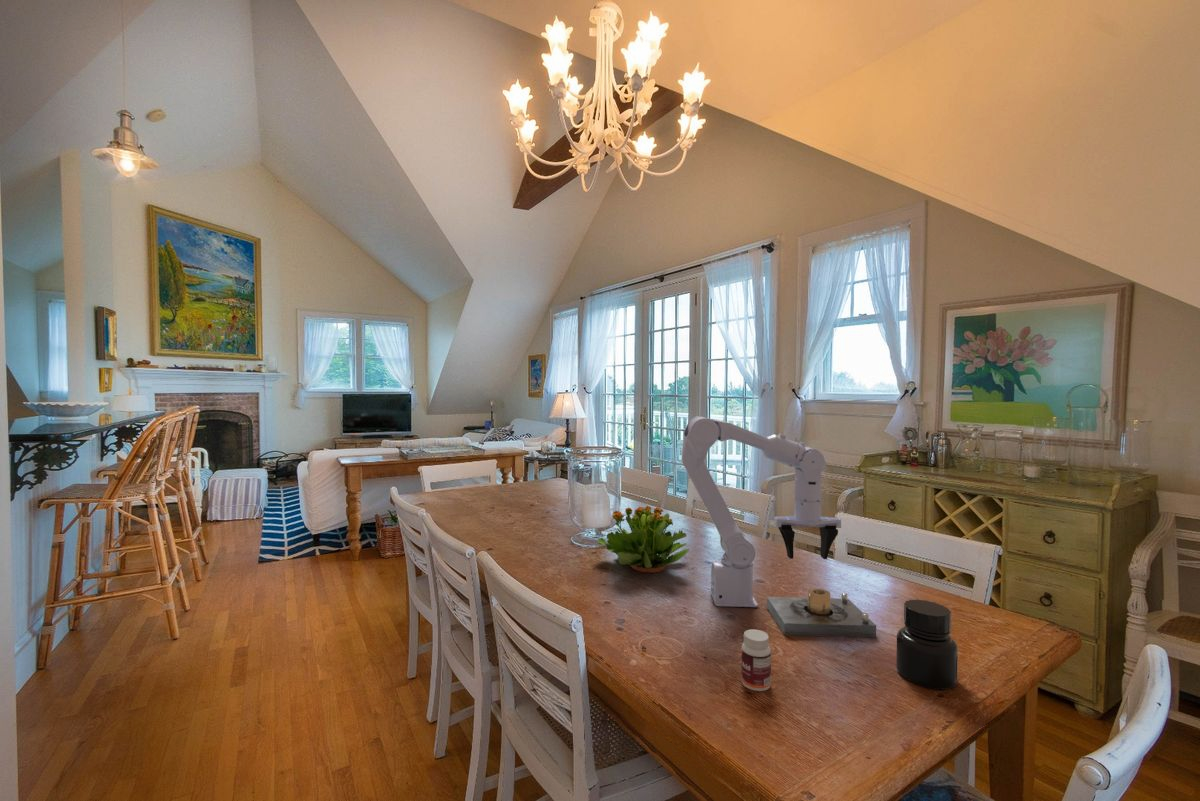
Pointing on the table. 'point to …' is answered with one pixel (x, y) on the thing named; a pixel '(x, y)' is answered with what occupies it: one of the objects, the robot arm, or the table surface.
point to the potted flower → (645, 540)
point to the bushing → (818, 602)
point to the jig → (820, 618)
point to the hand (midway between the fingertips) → (807, 557)
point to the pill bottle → (756, 660)
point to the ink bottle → (927, 646)
